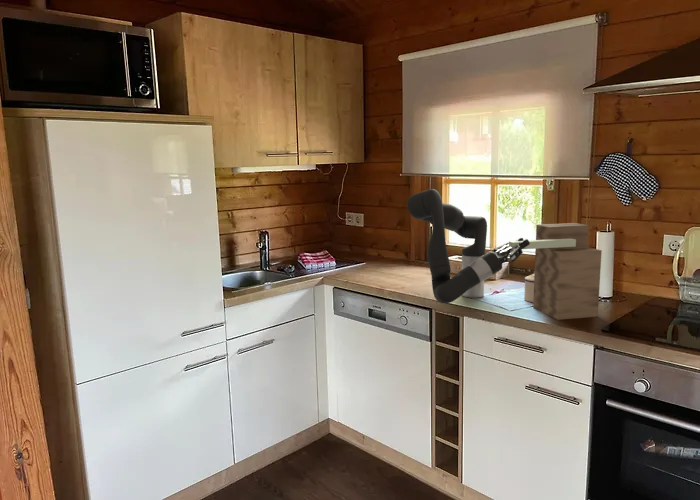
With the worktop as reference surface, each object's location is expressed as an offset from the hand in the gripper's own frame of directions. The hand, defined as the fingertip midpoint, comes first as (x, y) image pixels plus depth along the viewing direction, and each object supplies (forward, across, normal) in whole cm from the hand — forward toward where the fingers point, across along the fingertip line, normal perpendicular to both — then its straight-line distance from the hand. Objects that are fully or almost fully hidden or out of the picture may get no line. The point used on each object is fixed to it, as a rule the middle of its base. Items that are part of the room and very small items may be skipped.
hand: (525, 240), depth 184 cm
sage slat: (+4, 0, +6) cm, 7 cm away
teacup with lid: (+2, +23, +34) cm, 41 cm away
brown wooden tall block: (+3, +4, +34) cm, 34 cm away
